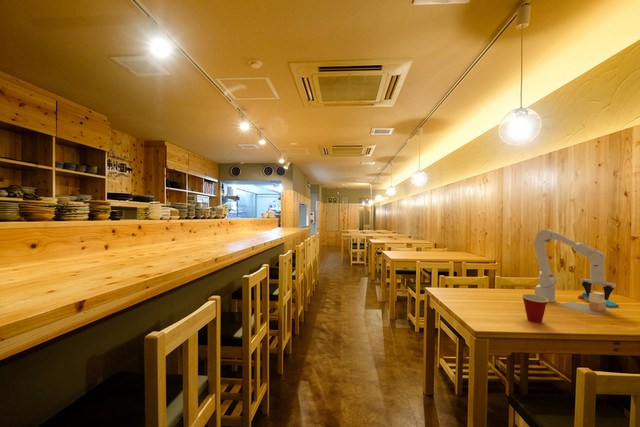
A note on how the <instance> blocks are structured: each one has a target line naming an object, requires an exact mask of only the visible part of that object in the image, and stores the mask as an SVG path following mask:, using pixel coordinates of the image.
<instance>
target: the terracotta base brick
mask: <svg viewBox="0 0 640 427" xmlns="http://www.w3.org/2000/svg"><path fill="white" fill-rule="evenodd" d="M588 302H589V303H588V304H589V310H594V311H598V312H600V311H604V310H607V307H606V302H603V303H595V302H590V301H589V300H588Z"/></svg>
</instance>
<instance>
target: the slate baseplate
mask: <svg viewBox="0 0 640 427" xmlns="http://www.w3.org/2000/svg"><path fill="white" fill-rule="evenodd" d="M556 306H558V307H561V308H566V309H570V310H573V311H577V312H581V313H586V314H589V315H593V316H595V315H600V314H606V313H609V312H611V310H610V309H606V310H604V311H600V312H598V311H594V310H589V305H588V304H584V303H583V304H582V303H579V302H574V301H570V302H563V303H559V304H556Z"/></svg>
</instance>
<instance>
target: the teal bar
mask: <svg viewBox="0 0 640 427" xmlns="http://www.w3.org/2000/svg"><path fill="white" fill-rule="evenodd" d="M591 293H593V291H591ZM577 299H579V300H584V301H585V300H587V301H589V296H587V294H586V291H583V292H582V294H579V295H578V296H577ZM619 305H620V304H618V303H616V302H614V301H611V300H609V299H608V300H606V308H618V307H619Z"/></svg>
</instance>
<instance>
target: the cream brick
mask: <svg viewBox="0 0 640 427" xmlns="http://www.w3.org/2000/svg"><path fill="white" fill-rule="evenodd" d="M592 292H593V291H592ZM589 301H590V302H595V303H603V302H606V300H605V299H604V292H598V291H594V292H593V293H589V300H588V302H589Z"/></svg>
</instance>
